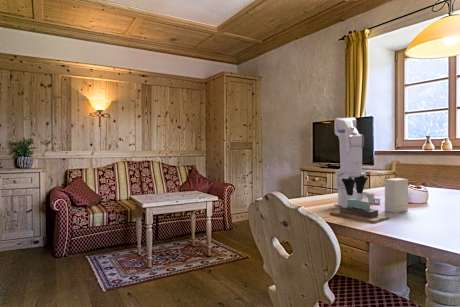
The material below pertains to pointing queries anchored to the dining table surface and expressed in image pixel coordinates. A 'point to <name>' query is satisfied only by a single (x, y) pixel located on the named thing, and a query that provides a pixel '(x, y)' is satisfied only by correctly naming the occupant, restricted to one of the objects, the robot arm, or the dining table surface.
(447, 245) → the dining table surface
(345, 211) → the rail stand
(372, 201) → the lattice window wall
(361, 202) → the clip
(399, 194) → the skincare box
